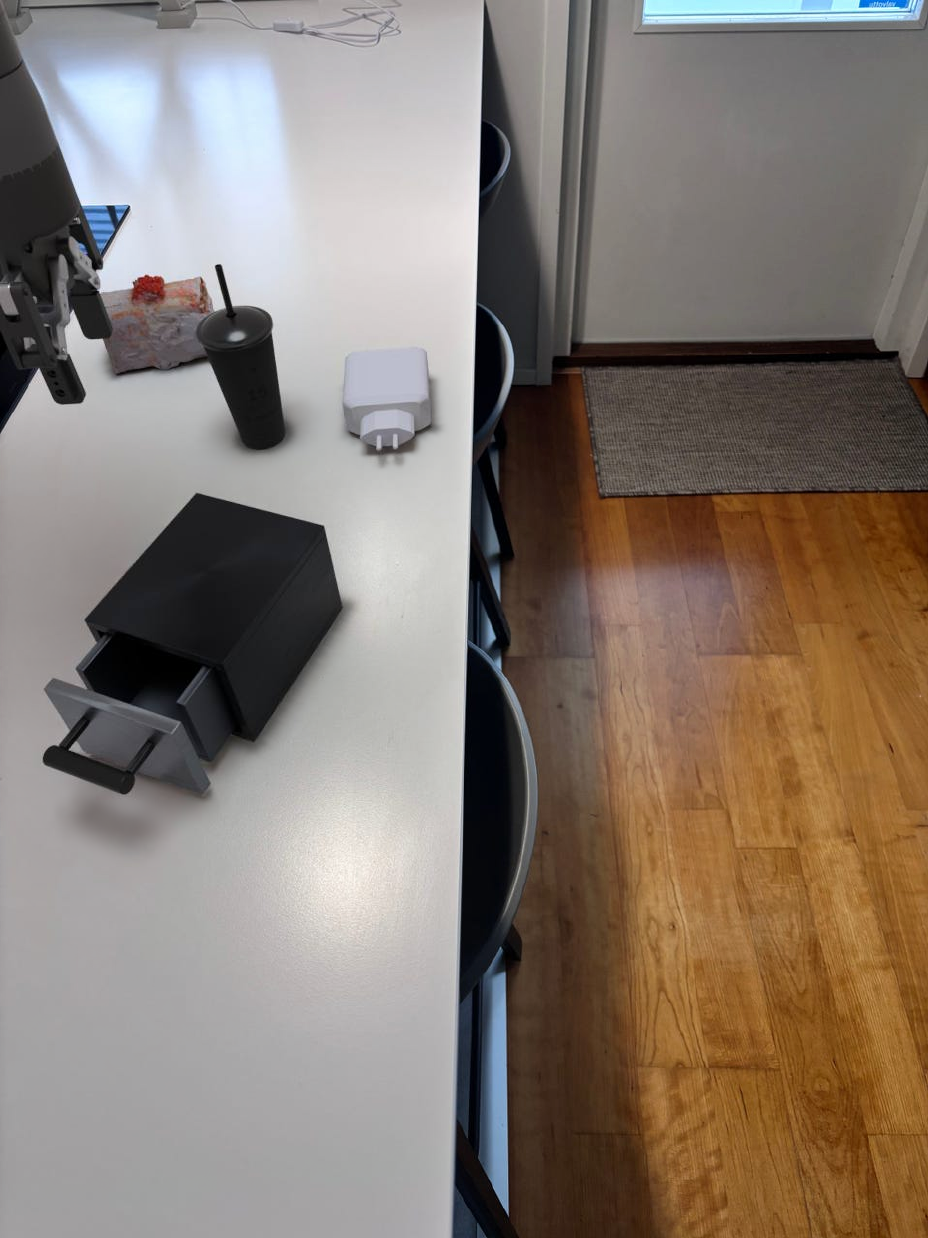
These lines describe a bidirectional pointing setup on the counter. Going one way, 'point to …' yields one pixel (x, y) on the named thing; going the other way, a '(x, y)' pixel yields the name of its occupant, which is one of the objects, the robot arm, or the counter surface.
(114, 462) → the counter surface
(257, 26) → the counter surface
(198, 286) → the food item
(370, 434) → the charger
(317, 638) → the cabinet
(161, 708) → the drawer
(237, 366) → the drinking cup
